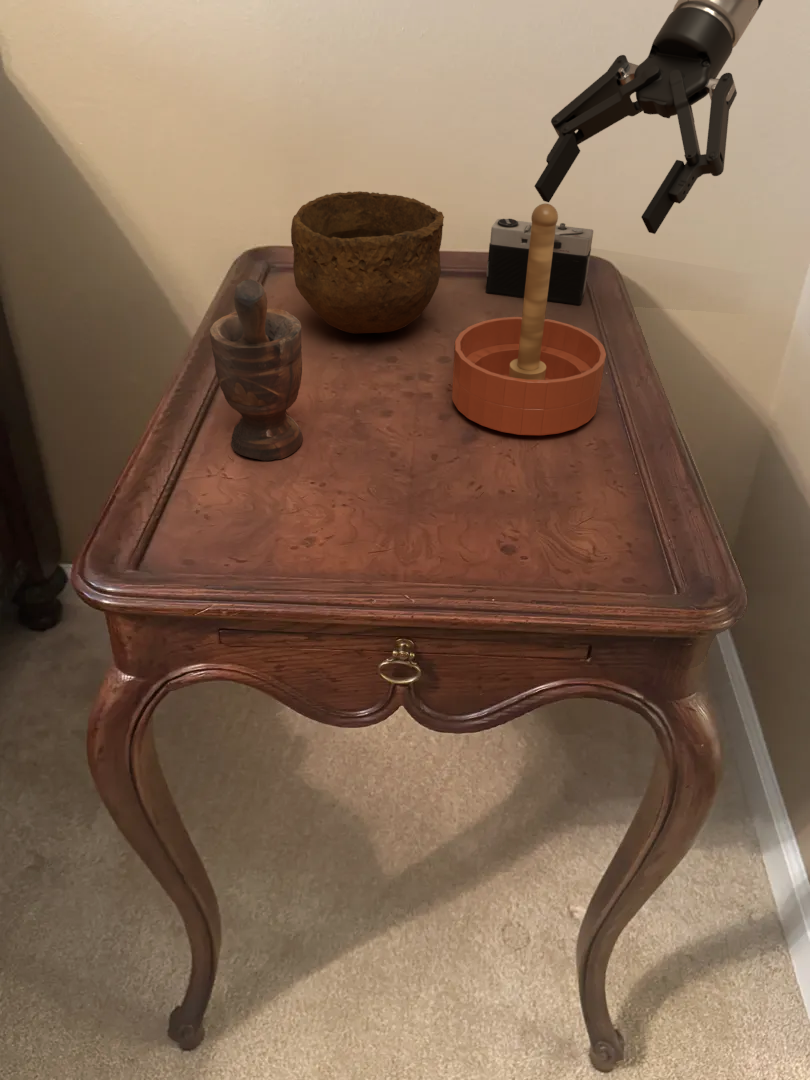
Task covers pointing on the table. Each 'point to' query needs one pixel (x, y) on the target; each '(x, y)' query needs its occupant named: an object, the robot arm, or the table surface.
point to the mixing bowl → (520, 401)
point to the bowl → (367, 259)
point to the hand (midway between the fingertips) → (592, 209)
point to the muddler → (535, 295)
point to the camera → (512, 261)
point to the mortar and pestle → (259, 372)
